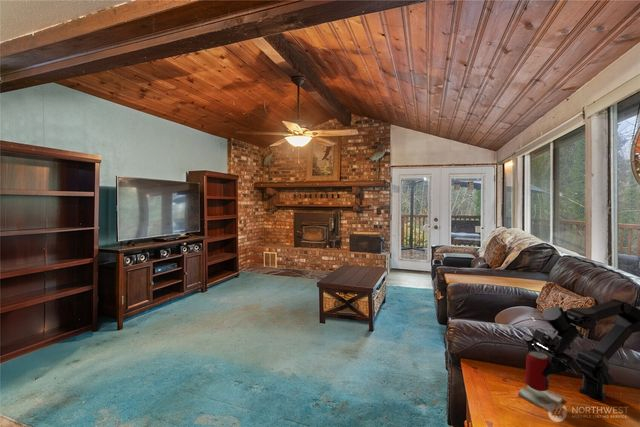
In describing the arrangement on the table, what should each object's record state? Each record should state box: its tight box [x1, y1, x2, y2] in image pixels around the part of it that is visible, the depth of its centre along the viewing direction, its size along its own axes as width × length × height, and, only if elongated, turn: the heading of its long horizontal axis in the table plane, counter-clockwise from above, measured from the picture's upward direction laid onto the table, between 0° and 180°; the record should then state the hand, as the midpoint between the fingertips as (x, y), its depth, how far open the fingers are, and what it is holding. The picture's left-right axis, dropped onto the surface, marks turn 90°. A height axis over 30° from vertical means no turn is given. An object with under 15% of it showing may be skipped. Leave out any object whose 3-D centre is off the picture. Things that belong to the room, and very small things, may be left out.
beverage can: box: [525, 351, 551, 391], centre depth 105 cm, size 7×7×12 cm
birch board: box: [517, 385, 564, 413], centre depth 105 cm, size 12×10×1 cm
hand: (534, 369), depth 104 cm, fingers closed on beverage can, 7 cm apart
